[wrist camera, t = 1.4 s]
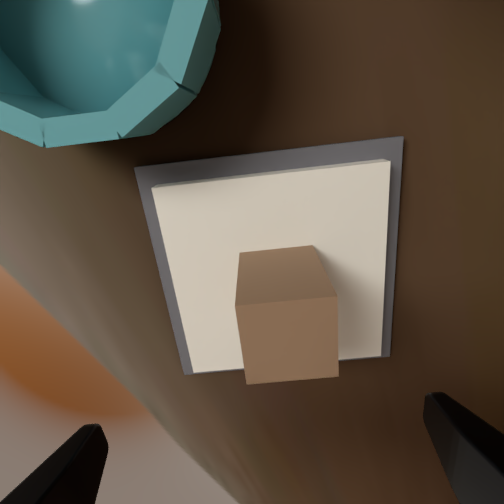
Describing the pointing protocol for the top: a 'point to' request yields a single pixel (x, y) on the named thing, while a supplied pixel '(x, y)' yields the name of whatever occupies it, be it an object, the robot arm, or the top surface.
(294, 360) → the lid
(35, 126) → the bowl
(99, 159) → the top surface
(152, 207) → the mat
